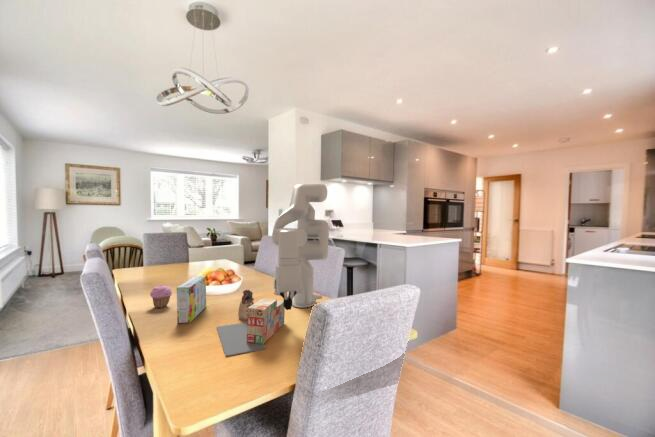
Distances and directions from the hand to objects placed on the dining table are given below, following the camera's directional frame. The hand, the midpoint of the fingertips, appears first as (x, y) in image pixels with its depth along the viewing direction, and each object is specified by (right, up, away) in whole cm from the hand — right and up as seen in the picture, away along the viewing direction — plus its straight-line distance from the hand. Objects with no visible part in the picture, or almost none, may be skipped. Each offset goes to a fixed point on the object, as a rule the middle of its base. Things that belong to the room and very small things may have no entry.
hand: (287, 308), depth 117 cm
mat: (-17, -8, -8) cm, 20 cm away
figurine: (-19, -8, +13) cm, 25 cm away
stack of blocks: (-7, -8, -3) cm, 12 cm away
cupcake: (-64, -7, +26) cm, 69 cm away
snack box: (-44, -8, +15) cm, 47 cm away
